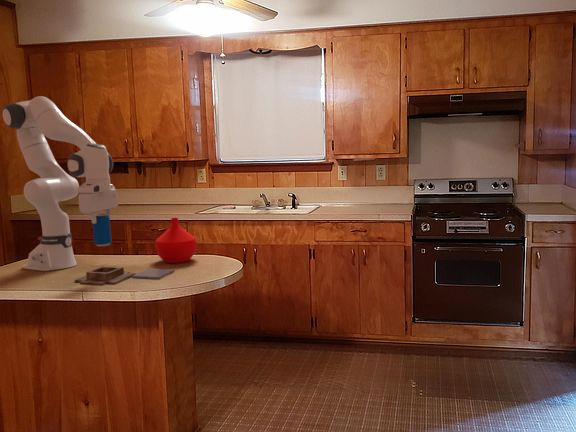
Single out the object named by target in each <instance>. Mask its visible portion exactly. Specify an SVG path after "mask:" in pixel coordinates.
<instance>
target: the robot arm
mask: <svg viewBox="0 0 576 432" xmlns="http://www.w3.org/2000/svg"><path fill="white" fill-rule="evenodd" d="M1 114H2V119H3V122H4V123H5V125H6V126H7V127H8V128H10V129H14V130H16V138H17V142H18V146H19V148H20V151H21V154H22V156H23V159H24V161H25V163H26V166H27V168H28V169H29V171H31V172H33V173H35V174H37V175H38V176H39V178H38V177H37V178H35V179H32V180H30V181H27V182H26V183H25V185H24V187H23V196H24V198H25V200H26V201H27V202H29V204H31V205H32V206H33V207H35V209H36V211H37V213H38V215H39V218H40V223H41V229H42V230H41V232H42V235H41V236H37V240H38V241H39V244H38V245H37V246H36V247H35V248H34V249H32V250H31V251H30V252H29V253H28V257H27V258H28V261H27V262H28V263H26V264H23V266H22V269H25V270H33V271H39V272H41V271H42V272H49V271H55V270H62V269H69V268H72V267H75V266H77V265H78V263H77V260H76V258H75V257H76V256H75V255H74V250H73V245H72V244H73V238H72V237H73V236H72V232H71V227H70V219H69V217H70V216H69V215H68V213H66V212H64V210H62V209H61V208H60V205H59V202H60V203H61V202H63V201H64V202H65V201H69V200H71V199H73V198H75V197H77V196H78V207H79V211H80V213H81V214H88V217H89V218H90V220H91V224H92V225H93V224H96V223H98V219H96V216H95V215H96V214H97V213H96V212H100V211H105V213H104V214H108V216H109V217H110V218H111V214H112V209H114V208H118V206H119V204H120V203H119V197H118V196H119V195H118V191H117V189H116V187H115V185H114V184H111V176H110V174H111V172H112V171H113V168H114V164H115V163H114V160H113V157H112V155H110V153H109V152H108V150H107V147H106V146H105V145H104V144H101V143H97V142H96V141H94V139H92V138H91V136H89V134H87V133H86V131H85V130H83V128H81V127H80V126H78V125H77V124H75V123H73V122H72V121H71V120H69V119H68V117H66V116H65V115H64V114H63V112H62V111H61V110H60V109H59V108H58V106H57V105H56V103H55V102H54V101H53V100H51V99H50V98H48V97H46V96H42V95H40V96H39V95H38V96H35V97H33V98H32V99H29V100H25V101H19V102H12V103H8V104H6V105H5V106H3V109H2V111H1ZM46 138H48V139H49V140H53V141H58V142H63V143H64V142H65V143H69V144H71V145H72V144H73V145H74V146H76V147H78V148H79V149H80V150H78V151H77V152H74V153H71V154H70V155H69V157H68V158H67V159H66V168H67V171H68V173H69V174H68V173H67V172H66V171H65V170H64V169H63V168H62V167H61V166H60V164H59V163H58V162H57V160H56V159H55V156H54V154H53V151H52V150H51V148H50V145H49V143H48V141H47V139H46ZM76 178H85V182H84V183H82V184H81V185H80V184H79V182H78V180H77V179H76ZM78 194H79V195H78Z"/></svg>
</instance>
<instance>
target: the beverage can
mask: <svg viewBox="0 0 576 432" xmlns="http://www.w3.org/2000/svg"><path fill="white" fill-rule="evenodd" d="M95 216H96V219H98V223H96V224H92V233H93V244H94V245H95V246H96V247H107V246H110V245H111V243H113V240H112V230H111V216H110V217H109V216H108V214H105V213H96V215H95Z"/></svg>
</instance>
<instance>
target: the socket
mask: <svg viewBox="0 0 576 432" xmlns="http://www.w3.org/2000/svg"><path fill="white" fill-rule="evenodd" d="M124 270H125V269H124V267H122V266H103V265H102V266H100V267H97V268H94V269H91V270H89V271H86V275H84V276H81V277H78V278H76V279H74V283H79V284H80V285H94V286H105V285H106V284H107V285H116V284H119V283H122V282H123V281H125V280H128V279H130V278H132V276H133V275H135V274H137V273H135V272H130V271H124Z"/></svg>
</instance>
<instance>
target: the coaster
mask: <svg viewBox="0 0 576 432" xmlns="http://www.w3.org/2000/svg"><path fill="white" fill-rule="evenodd" d="M173 273H175V269H164V268H163V269H161V268H160V269H159V268H147V269H145V270H142V271H140V272H138V273H136V274H135V275H133V276H132V277H131V278H132V279H145V278H148V279H149V278H150V279H151V280H161V279H162V277H163V278H165V277H167V276H169V275H171V274H173ZM168 274H169V275H168ZM166 275H167V276H166ZM164 276H165V277H164ZM160 278H161V279H160ZM150 279H149V280H150Z"/></svg>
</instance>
